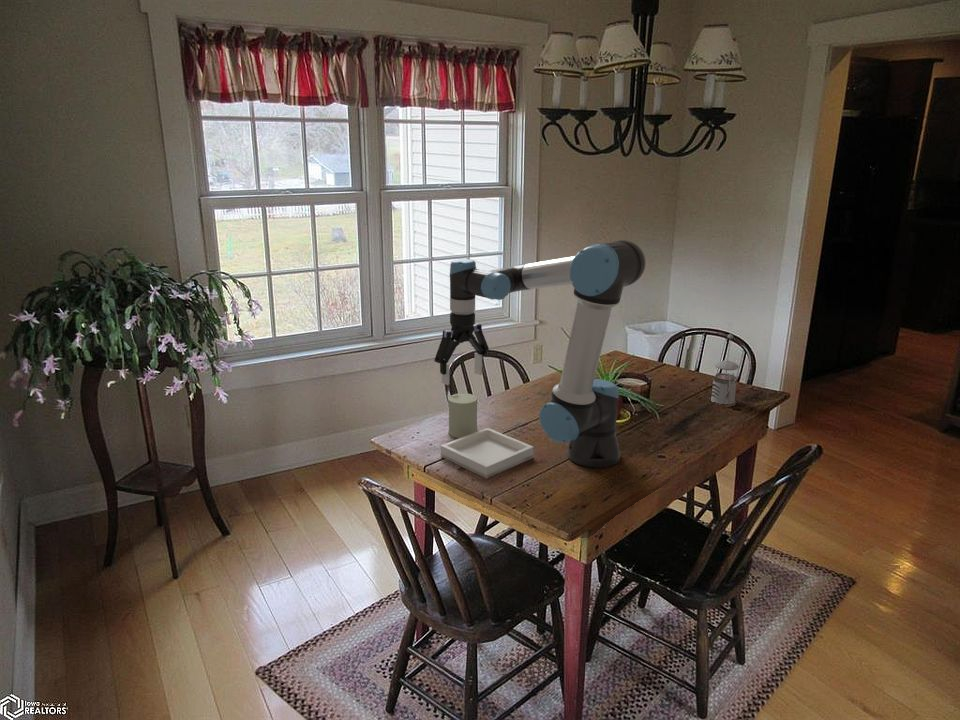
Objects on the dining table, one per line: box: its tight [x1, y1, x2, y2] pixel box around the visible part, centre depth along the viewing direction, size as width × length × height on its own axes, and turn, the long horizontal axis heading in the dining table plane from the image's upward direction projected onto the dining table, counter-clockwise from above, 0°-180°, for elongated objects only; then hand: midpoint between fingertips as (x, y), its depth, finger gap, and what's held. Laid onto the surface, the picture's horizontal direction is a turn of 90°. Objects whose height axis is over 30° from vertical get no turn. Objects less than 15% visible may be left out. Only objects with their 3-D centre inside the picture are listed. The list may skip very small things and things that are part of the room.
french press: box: [710, 334, 740, 404], centre depth 238 cm, size 10×12×25 cm
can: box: [447, 392, 479, 439], centre depth 215 cm, size 9×9×12 cm
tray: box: [440, 427, 534, 480], centre depth 199 cm, size 19×19×4 cm
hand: (462, 378), depth 211 cm, fingers open, 13 cm apart
